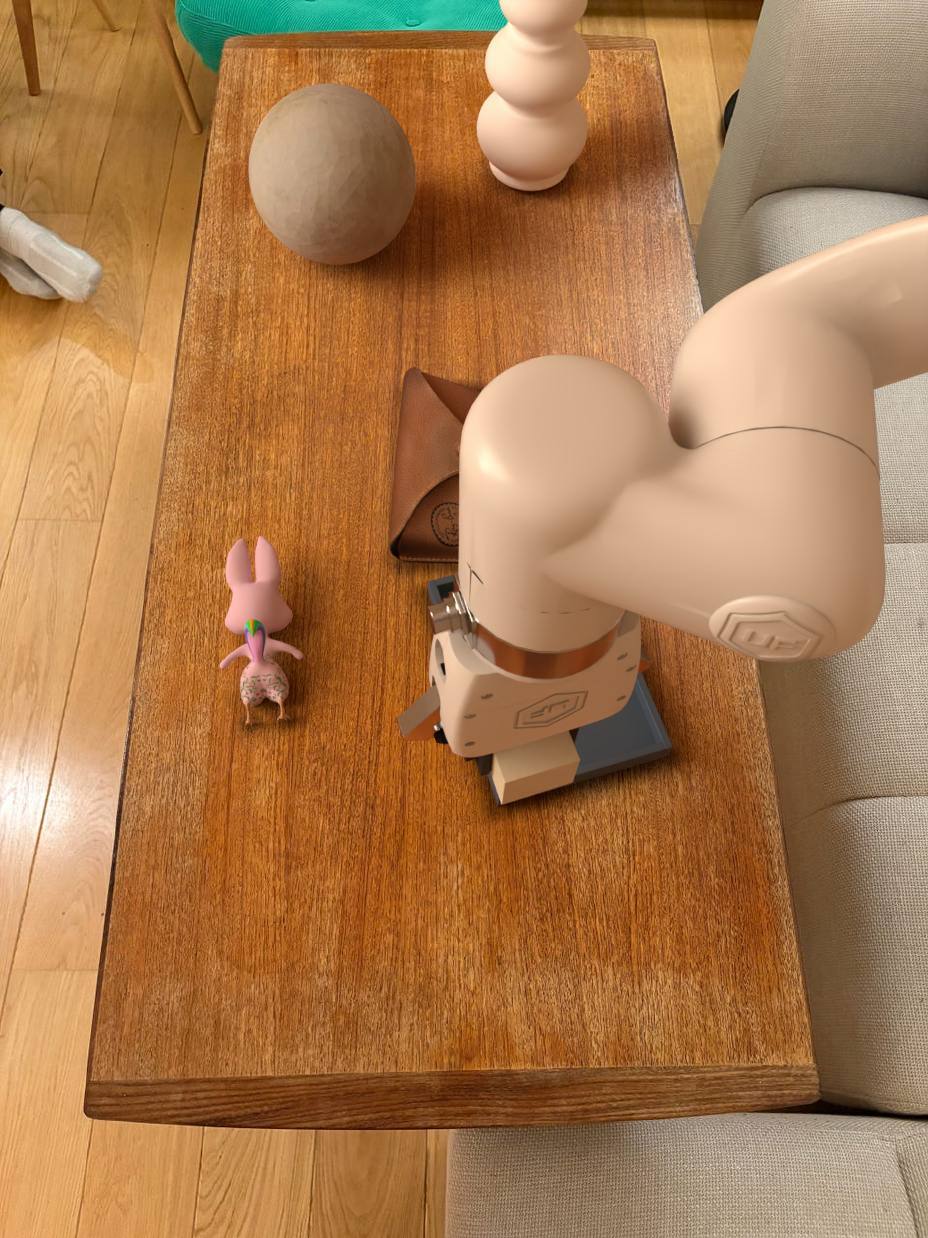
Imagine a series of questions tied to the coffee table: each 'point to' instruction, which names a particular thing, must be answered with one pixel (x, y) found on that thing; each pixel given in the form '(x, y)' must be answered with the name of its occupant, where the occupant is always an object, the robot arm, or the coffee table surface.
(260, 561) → the rabbit figure
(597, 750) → the tray
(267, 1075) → the coffee table surface
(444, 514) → the sunglasses case
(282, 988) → the coffee table surface
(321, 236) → the decorative sphere
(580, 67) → the vase
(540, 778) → the cream pad
